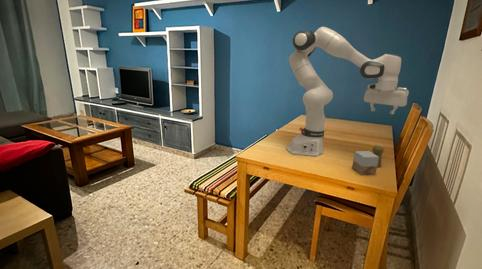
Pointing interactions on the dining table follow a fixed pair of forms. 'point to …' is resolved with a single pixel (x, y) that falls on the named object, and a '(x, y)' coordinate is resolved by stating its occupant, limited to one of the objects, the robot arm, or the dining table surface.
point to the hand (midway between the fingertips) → (382, 112)
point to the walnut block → (364, 169)
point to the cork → (378, 154)
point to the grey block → (366, 158)
